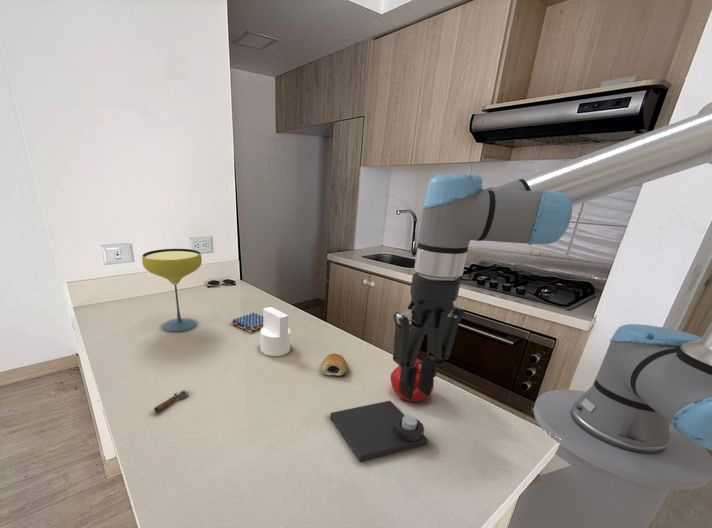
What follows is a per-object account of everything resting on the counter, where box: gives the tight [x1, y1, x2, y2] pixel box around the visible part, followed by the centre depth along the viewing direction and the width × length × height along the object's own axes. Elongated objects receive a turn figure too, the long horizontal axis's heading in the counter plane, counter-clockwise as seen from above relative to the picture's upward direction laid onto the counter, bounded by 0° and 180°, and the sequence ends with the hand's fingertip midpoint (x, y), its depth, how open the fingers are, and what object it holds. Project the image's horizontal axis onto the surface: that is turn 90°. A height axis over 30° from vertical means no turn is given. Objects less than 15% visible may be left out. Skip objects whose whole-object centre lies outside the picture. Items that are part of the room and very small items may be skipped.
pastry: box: [320, 353, 348, 377], centre depth 93 cm, size 9×7×4 cm
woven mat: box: [231, 312, 263, 333], centre depth 120 cm, size 10×11×2 cm
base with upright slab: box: [259, 306, 291, 357], centre depth 101 cm, size 9×9×12 cm
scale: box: [329, 400, 429, 463], centre depth 70 cm, size 15×13×3 cm
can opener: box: [154, 390, 189, 413], centre depth 78 cm, size 9×2×1 cm, turn 144°
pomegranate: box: [390, 359, 435, 402], centre depth 82 cm, size 10×10×9 cm
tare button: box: [401, 415, 418, 431], centre depth 68 cm, size 3×3×2 cm
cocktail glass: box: [141, 248, 203, 333], centre depth 114 cm, size 18×18×25 cm
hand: (414, 393), depth 65 cm, fingers open, 3 cm apart
